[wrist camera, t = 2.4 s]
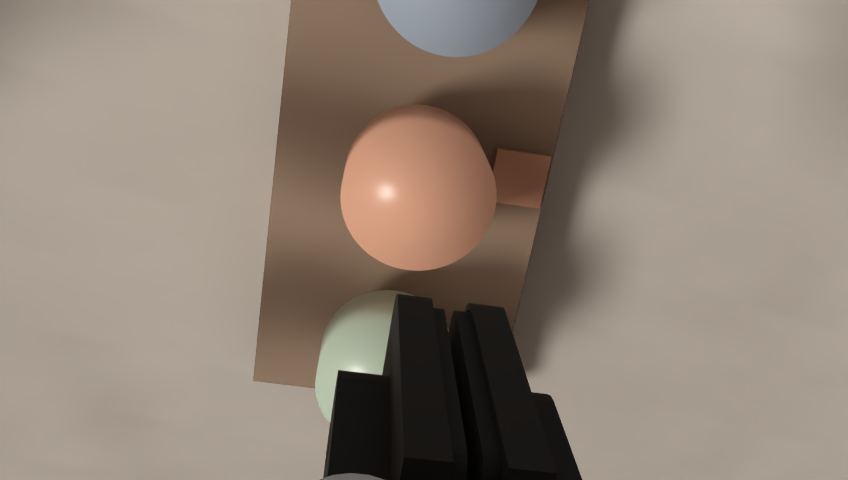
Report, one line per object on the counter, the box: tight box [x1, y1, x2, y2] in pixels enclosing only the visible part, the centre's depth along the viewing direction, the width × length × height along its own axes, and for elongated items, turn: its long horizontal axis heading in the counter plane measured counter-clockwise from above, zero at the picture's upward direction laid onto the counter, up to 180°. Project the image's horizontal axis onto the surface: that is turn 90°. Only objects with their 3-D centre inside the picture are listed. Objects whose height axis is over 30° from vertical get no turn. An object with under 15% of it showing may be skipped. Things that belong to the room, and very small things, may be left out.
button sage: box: [315, 290, 449, 423], centre depth 25 cm, size 4×4×2 cm
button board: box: [253, 0, 589, 388], centre depth 26 cm, size 18×9×2 cm, turn 171°
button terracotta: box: [340, 104, 497, 271], centre depth 23 cm, size 4×4×2 cm
